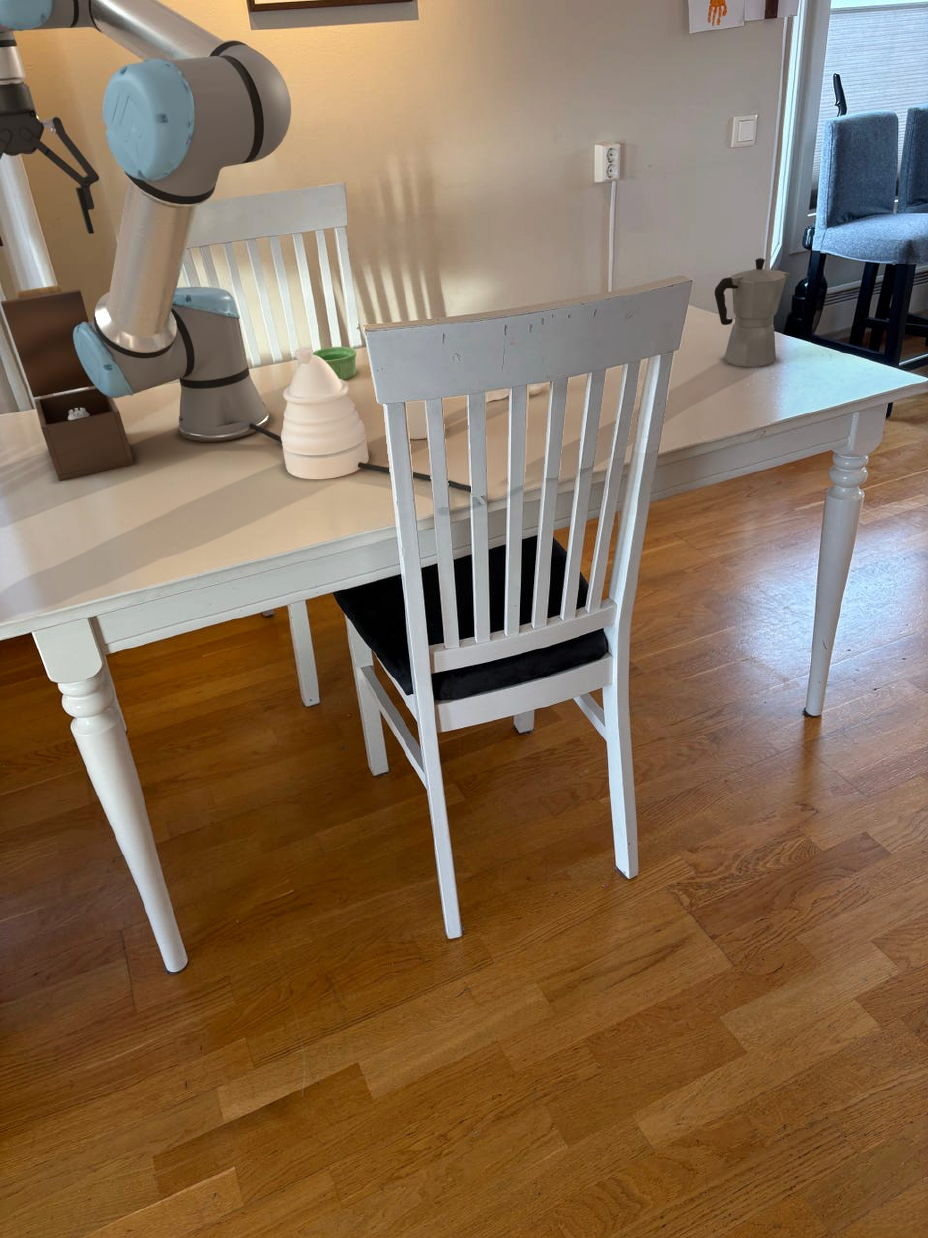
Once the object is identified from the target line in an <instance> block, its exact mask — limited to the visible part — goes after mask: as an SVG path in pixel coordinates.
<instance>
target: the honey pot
mask: <svg viewBox="0 0 928 1238" xmlns="http://www.w3.org/2000/svg"><path fill="white" fill-rule="evenodd" d="M313 352H314V350H313V348H311V347H301V348H297V349H295V350H294V355H295V358H296V359H297V361H298V362H299V363H298V364H297V366H296V368H295V370H294V373H293V377H292V380H291V383H290V385H288V386H287V387H286V388H285V389H284V390H283V394H282V396H283V398H284V400H285V401H286V407H285V409H284V411H283V417H284V419H283V422H282V430H281V433H280V437H281V440H282V443H281V446H282V452H283V457H284V463H285V468H286V470H287V472H288V473H289V474H290V475H292V476H294V477H297V478H300V479H306V480H328V479H334V478H339V477H344V476H347V475H350V474H352V473H355V472H357V471H359V470H361V469H362V468H359V467H358V463H360V462H361V463H366V464H368V462H369V457H370V456H369V449H368V443H367V436H366V430H365V429H366V428H365V424H364V422H363V421H362V420H361V418H360V414H359V412H358V411H357V410H356V405H355V403H354V402H353V400H352V398H351V397H350V396H349V393H351V385H350V383H348V381H346V380H342V379H339V378H338V377H337V375H336V374H335V372H334V371H333V370H332V368H331V367H330V366H329V365H328V364H327V363H326V362H325V361H324V360H323V359H322V358H320V357H318V356H316V355H313Z"/></svg>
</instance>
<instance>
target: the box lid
mask: <svg viewBox="0 0 928 1238" xmlns="http://www.w3.org/2000/svg"><path fill="white" fill-rule="evenodd" d="M15 293H16V296H17V298H13V299H7V300H1V301H0V305H1V309H2V311H3V313H4V316H5V319H6V323H7V325H8V328H9V331H10V334H11V337H12V340H13V343H14V346H15V349H16V352H17V355H18V357H19V360H20V361H19V362H20V363H21V366H22V369H23V371H24V372H23V373H24V375H25V378H26V382H27V383H28V387H29V389H30V392H31V396H32V398H34V399H35V398H38V397H46V396H51V395H56V394H61V393H63V392H64V393H66V392H71V391H76V390H81V389H87V388H92V387H96V386H95V385H94V384H93V382H92V381H91V379H90V378H89V376H88V375H87V373H86V371H85V369H84V368H83V366H82V364H81V361H80V359H79V357H78V354H77V351H76V348H75V344H74V339H73V332H74V329H75V327H76V326H78V325H80V324H82V322H86V323H88V322H90V320H89V316H88V313H87V309H86V304H85V302H84V298H83V295H82V291H81V288H77V289H71V290H70V289H69V290H62V288H61V285H60V284H56V285H49V286H42V287H37V288H31V289H23V290H17V291H16V292H15Z"/></svg>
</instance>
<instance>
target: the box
mask: <svg viewBox="0 0 928 1238" xmlns="http://www.w3.org/2000/svg"><path fill="white" fill-rule="evenodd" d="M33 401H34V406H35V410H36V414H37V418H38V421H39V426H40V429H41V432H42V435H43V438H44V442H45V443H46V447H47V450H48V453H49V456H50V459H51V462H52V464H53V468H54V469H55V470H54V471H55V474H56V476H57V480H58V481H60V482H61V481H64V480H70V479H73V478H77V477H81V476H87V475H90V474H95V473H100V472H105V471H108V470H113V469H117V468H121V467H125V466H130V465H134V464H135V462H134V458H133V454H132V451H131V448H130V444H129V441H128V437H127V433H126V430H125V426H124V422H123V420H122V416H121V412H120V410H119V408H118V406H117V405H116V402H115V399H114V398H110V397H108V396H106V395H104V394H103V393H102V392H100V391H99V390H98V388H97V387H96V386H94V387H88V388H83V389H78V390H73V391H68V392H64V393H58V394H53V395H48V396H42V397H40V398H38V397H37V398H34V399H33ZM75 408H78V411H81V410H80V408H83V409H85V411H86V412H87V413H89V416H88V417H83V418H78V419H73V420H69V419H68V417H69V412H70V410H73V412H75Z"/></svg>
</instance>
